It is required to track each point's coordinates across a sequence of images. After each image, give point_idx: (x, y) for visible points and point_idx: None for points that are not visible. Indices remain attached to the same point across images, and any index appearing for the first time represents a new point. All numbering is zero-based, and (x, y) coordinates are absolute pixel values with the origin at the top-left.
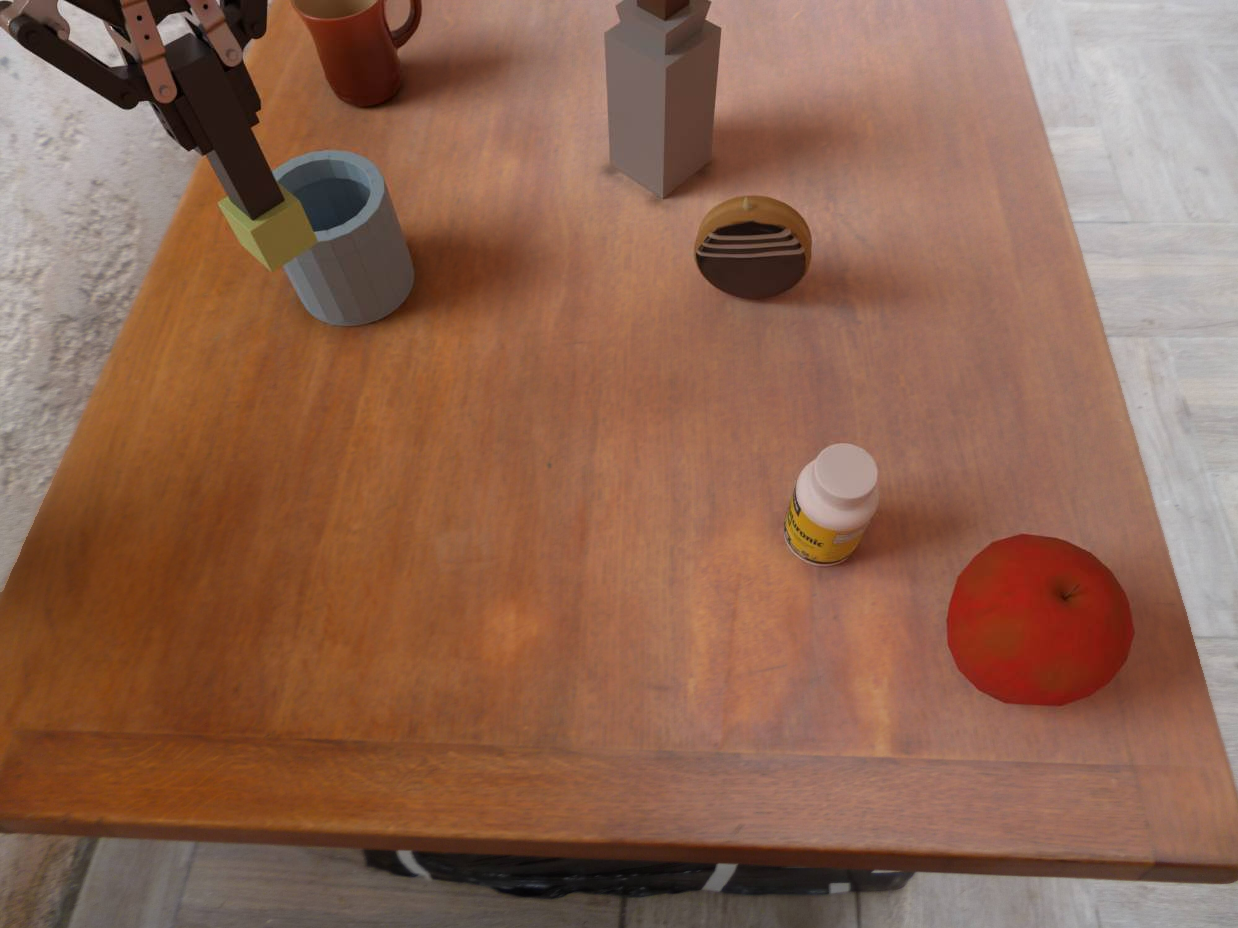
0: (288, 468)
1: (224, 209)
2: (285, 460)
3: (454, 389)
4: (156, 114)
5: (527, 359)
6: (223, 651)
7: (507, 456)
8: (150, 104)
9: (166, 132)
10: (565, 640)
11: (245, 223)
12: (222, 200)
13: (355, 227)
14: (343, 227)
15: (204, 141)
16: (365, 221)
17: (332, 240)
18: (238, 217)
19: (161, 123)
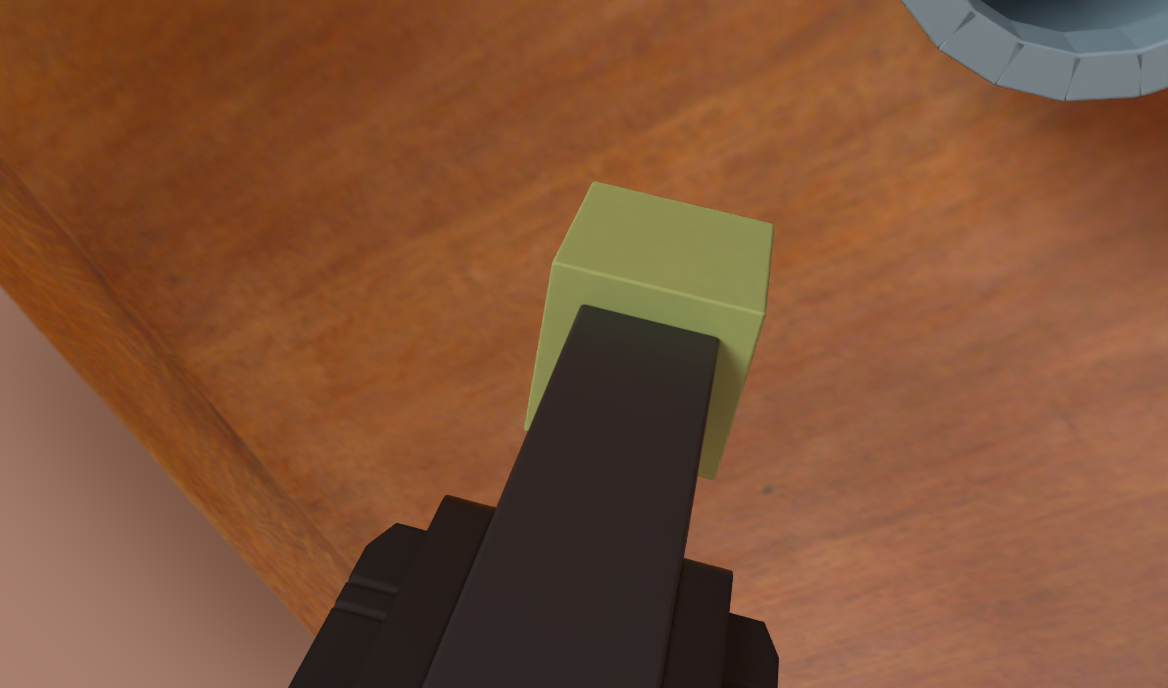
0: (485, 79)
1: (545, 302)
2: (494, 60)
3: (833, 264)
4: (325, 626)
5: (979, 354)
6: (190, 222)
7: (745, 424)
8: (302, 665)
9: (362, 554)
10: None
11: (538, 402)
12: (569, 274)
13: (1024, 88)
14: (1007, 54)
15: None
16: (1063, 99)
17: (944, 52)
18: (545, 366)
19: (344, 588)
